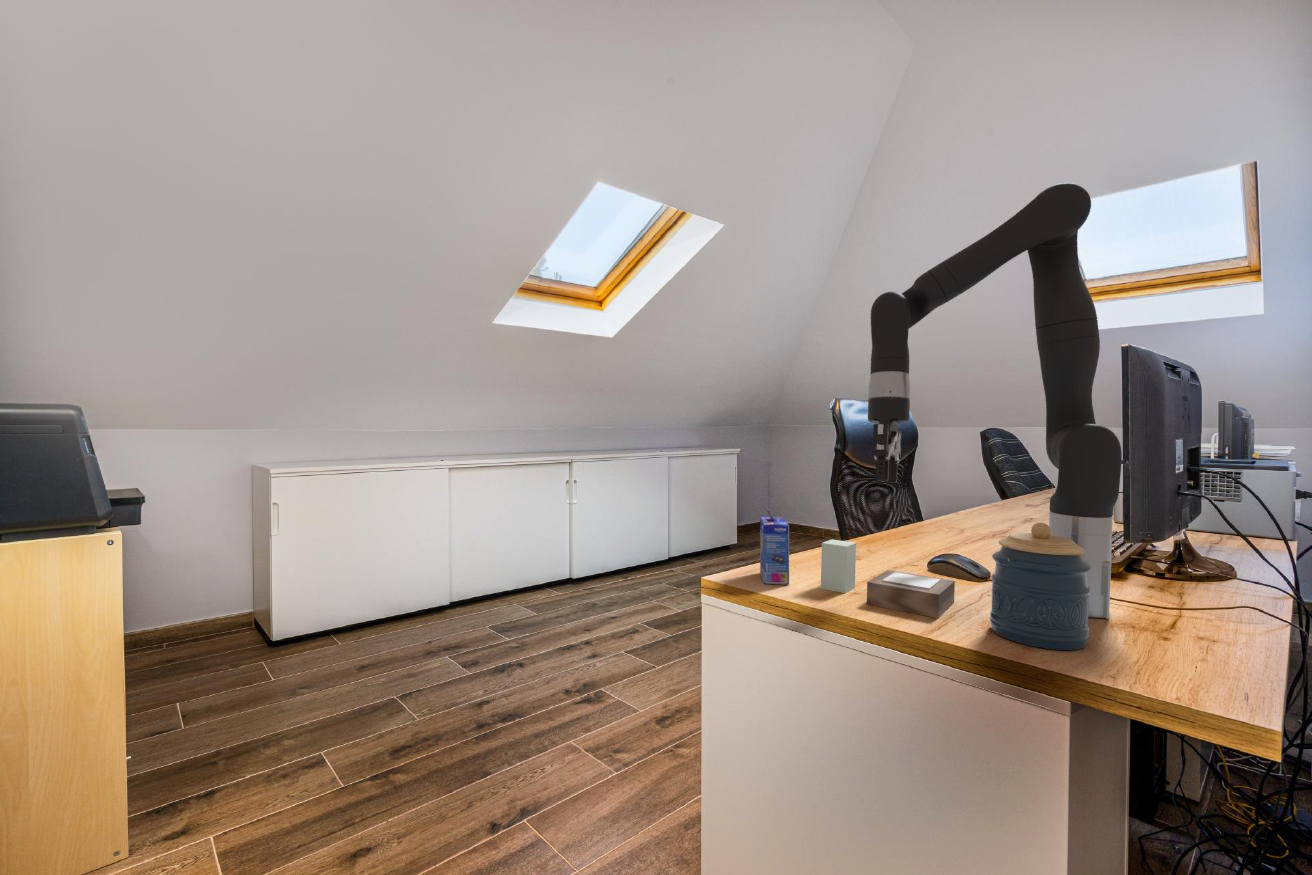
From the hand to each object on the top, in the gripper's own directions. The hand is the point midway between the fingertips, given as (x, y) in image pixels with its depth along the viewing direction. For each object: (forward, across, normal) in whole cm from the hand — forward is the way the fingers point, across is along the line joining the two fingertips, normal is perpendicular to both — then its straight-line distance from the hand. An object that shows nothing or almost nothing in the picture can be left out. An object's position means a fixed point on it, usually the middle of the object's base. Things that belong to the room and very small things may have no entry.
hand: (886, 481), depth 115 cm
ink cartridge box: (+21, 0, +22) cm, 31 cm away
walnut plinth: (+22, -2, -5) cm, 23 cm away
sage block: (+21, +1, +9) cm, 23 cm away
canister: (+23, -8, -24) cm, 35 cm away
